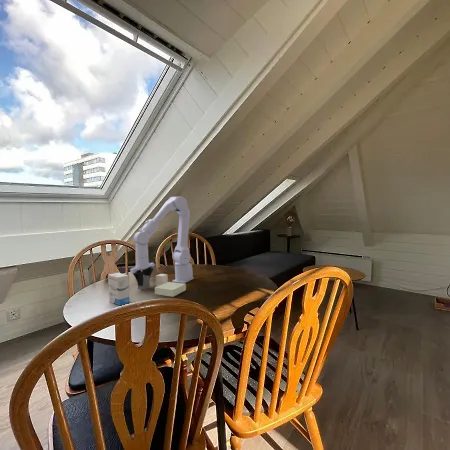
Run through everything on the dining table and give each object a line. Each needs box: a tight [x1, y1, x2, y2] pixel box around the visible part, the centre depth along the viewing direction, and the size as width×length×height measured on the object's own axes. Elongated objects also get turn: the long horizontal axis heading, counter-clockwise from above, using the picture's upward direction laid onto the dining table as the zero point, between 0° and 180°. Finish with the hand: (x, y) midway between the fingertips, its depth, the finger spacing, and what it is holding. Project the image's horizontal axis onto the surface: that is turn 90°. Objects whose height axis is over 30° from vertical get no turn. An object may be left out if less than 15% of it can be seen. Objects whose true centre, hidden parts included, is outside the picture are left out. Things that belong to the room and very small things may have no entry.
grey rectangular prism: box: [137, 275, 151, 291], centre depth 137 cm, size 4×4×6 cm
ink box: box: [107, 272, 131, 307], centre depth 118 cm, size 8×5×12 cm, turn 48°
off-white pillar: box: [155, 273, 169, 287], centre depth 138 cm, size 4×4×6 cm
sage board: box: [154, 281, 187, 297], centre depth 130 cm, size 10×10×3 cm
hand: (143, 284), depth 137 cm, fingers closed on grey rectangular prism, 4 cm apart
